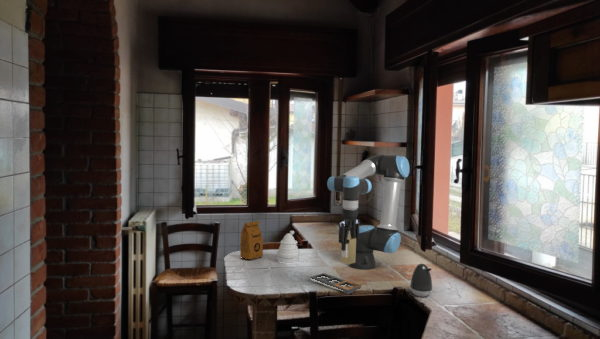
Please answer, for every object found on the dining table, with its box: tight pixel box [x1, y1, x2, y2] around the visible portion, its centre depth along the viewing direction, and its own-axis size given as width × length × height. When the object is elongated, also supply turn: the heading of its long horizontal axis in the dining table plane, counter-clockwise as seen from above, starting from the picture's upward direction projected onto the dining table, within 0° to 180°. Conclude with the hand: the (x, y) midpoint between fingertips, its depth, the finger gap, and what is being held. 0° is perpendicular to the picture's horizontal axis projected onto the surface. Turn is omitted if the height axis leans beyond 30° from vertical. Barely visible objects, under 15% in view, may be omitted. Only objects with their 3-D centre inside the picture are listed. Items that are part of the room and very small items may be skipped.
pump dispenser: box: [409, 263, 433, 298], centre depth 221 cm, size 10×10×15 cm
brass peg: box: [340, 235, 356, 265], centre depth 225 cm, size 5×5×12 cm
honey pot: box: [276, 230, 300, 263], centre depth 270 cm, size 13×13×18 cm
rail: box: [310, 272, 362, 295], centre depth 232 cm, size 10×25×2 cm, turn 43°
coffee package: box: [240, 220, 264, 260], centre depth 274 cm, size 10×12×22 cm
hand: (348, 255), depth 225 cm, fingers closed on brass peg, 5 cm apart
